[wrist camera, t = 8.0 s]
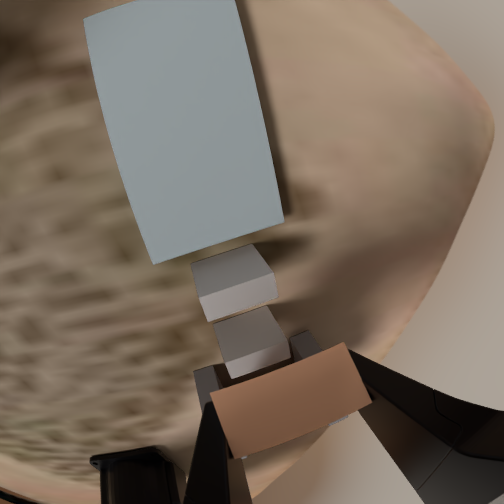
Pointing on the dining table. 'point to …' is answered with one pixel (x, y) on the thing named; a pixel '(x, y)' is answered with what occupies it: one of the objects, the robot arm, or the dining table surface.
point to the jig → (243, 317)
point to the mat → (184, 122)
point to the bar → (290, 401)
